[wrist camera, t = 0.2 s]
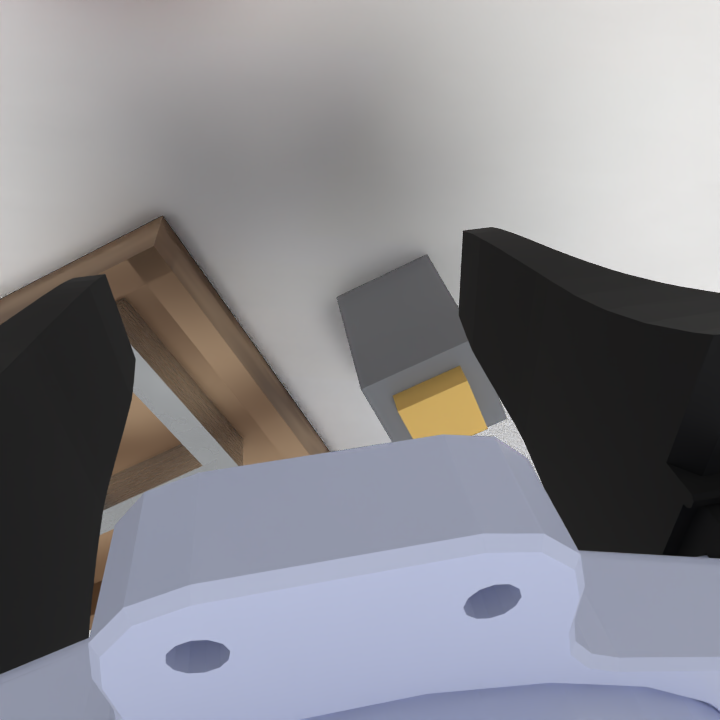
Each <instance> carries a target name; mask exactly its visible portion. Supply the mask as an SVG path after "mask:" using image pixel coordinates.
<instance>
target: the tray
mask: <svg viewBox="0 0 720 720" xmlns="http://www.w3.org/2000/svg"><path fill="white" fill-rule="evenodd" d="M101 274H106V277H107V280H108V282H109V285H110V288H111V291H112V294H113V296H114V299H115V302H116V301H118V300H120V299H122V298H124V297H125V299H126V300H127V301H128V302H129V303H130V305H131V306H132V307H133V308H134V309H135V311H136V312H137V313H138V314H139V315H140V317H141V318H142V319H143V320H144V321H145V322H146V324H147V325H148V326H149V327H150V328H151V330H152V331H153V332H154V333H155V334H156V336H157V337H158V338H159V339H160V340H161V342H162V343H163V344H164V345H165V346H166V348H167V349H168V350H169V351H170V352H171V354H172V355H173V356H174V357H175V358H176V359H177V361H178V362H179V363H180V364H181V365H182V367H183V368H184V369H185V370H186V371H187V373H188V374H189V375H190V376H191V377H192V379H193V380H194V381H195V382H196V383H197V385H198V386H199V387H200V388H201V389H202V390H203V392H204V393H205V394H206V395H207V396H208V398H209V399H210V400H211V401H212V402H213V404H214V405H215V406H216V407H217V408H218V410H219V411H220V412H221V413H222V414H223V416H224V417H225V418H226V419H227V420H228V421H229V423H230V424H231V425H232V426H233V427H234V429H235V430H236V431H237V432H238V433H239V435H240V436H241V437H242V438H243V466H244V465H250V464H257V463H263V462H269V461H276V460H282V459H289V458H295V457H301V456H308V455H314V454H321V453H327V452H330V451H329V450H328V449H327V447H326V446H325V444H324V443H323V441H322V440H321V439H320V437H319V436H318V434H317V433H316V432H315V430H314V429H313V427H312V426H311V425H310V423H309V422H308V420H307V419H306V418H305V416H304V415H303V413H302V412H301V410H300V409H299V408H298V406H297V405H296V403H295V402H294V401H293V399H292V398H291V396H290V395H289V394H288V392H287V391H286V389H285V388H284V386H283V385H282V384H281V382H280V381H279V379H278V378H277V377H276V375H275V374H274V372H273V371H272V370H271V368H270V367H269V365H268V364H267V362H266V361H265V360H264V358H263V357H262V355H261V354H260V353H259V351H258V350H257V348H256V347H255V346H254V344H253V343H252V341H251V340H250V338H249V337H248V336H247V334H246V333H245V331H244V330H243V329H242V327H241V326H240V324H239V323H238V322H237V320H236V319H235V317H234V316H233V315H232V313H231V312H230V310H229V309H228V307H227V306H226V305H225V303H224V302H223V300H222V299H221V298H220V296H219V295H218V293H217V292H216V291H215V289H214V288H213V286H212V285H211V283H210V282H209V281H208V279H207V278H206V276H205V275H204V274H203V272H202V271H201V269H200V268H199V267H198V265H197V264H196V262H195V261H194V259H193V258H192V257H191V255H190V254H189V252H188V251H187V250H186V248H185V247H184V245H183V244H182V243H181V241H180V240H179V238H178V237H177V235H176V234H175V233H174V231H173V230H172V228H171V227H170V226H169V224H168V223H167V221H166V220H165V219H164V217H163V216H161V217H159V218H157V219H155V220H153V221H151V222H149V223H148V224H146V225H144V226H142V227H140V228H138V229H136V230H134V231H132V232H130V233H128V234H126V235H124V236H122V237H120V238H118V239H116V240H114V241H112V242H111V243H109V244H107V245H105V246H103V247H101V248H99V249H97V250H95V251H93V252H91V253H89V254H87V255H85V256H83V257H81V258H79V259H77V260H76V261H74V262H72V263H70V264H68V265H66V266H64V267H62V268H60V269H58V270H56V271H54V272H52V273H50V274H48V275H46V276H44V277H42V278H40V279H39V280H37V281H35V282H33V283H31V284H29V285H27V286H25V287H23V288H21V289H19V290H17V291H15V292H13V293H11V294H9V295H7V296H5V297H4V298H2V299H0V325H1V324H2V323H4V322H5V321H7V320H8V319H9V318H11V317H12V316H14V315H15V314H17V313H18V312H20V311H21V310H23V309H24V308H26V307H27V306H28V305H30V304H31V303H33V302H34V301H36V300H37V299H39V298H40V297H42V296H43V295H45V294H46V293H48V292H49V291H51V290H52V289H54V288H55V287H57V286H59V285H60V284H62V283H64V282H66V281H68V280H70V279H72V278H77V277H85V276H93V275H101ZM180 444H182V443H181V442H180V441H179V440H178V439H177V438H176V437H175V436H174V435H173V434H172V433H171V432H170V431H169V430H168V428H167V427H166V426H165V425H164V424H163V423H162V422H161V421H160V420H159V419H158V418H157V417H156V416H155V415H154V414H153V413H152V412H151V411H150V409H149V408H148V407H147V406H146V405H145V404H144V403H143V402H142V401H141V400H140V399H139V398H138V397H137V396H136V395H135V394H134V393H133V394H132V401H131V405H130V409H129V413H128V417H127V420H126V424H125V428H124V432H123V435H122V439H121V443H120V446H119V450H118V454H117V457H116V461H115V464H114V468H113V472H112V475H115V474H117V473H119V472H121V471H123V470H125V469H128V468H130V467H132V466H134V465H136V464H139V463H141V462H143V461H145V460H147V459H149V458H152V457H154V456H156V455H158V454H160V453H163V452H165V451H167V450H169V449H171V448H174V447H176V446H178V445H180ZM112 475H111V476H112ZM113 531H114V529H112V530H110V531H108V532H106V533H103V534H101V535H100V537H99V544H98V551H97V559H96V568H95V577H94V586H93V594H92V604H91V616H90V628H89V630H91V628H92V624H93V619H94V615H95V610H96V606H97V602H98V597H99V593H100V588H101V584H102V579H103V575H104V571H105V566H106V562H107V557H108V553H109V549H110V544H111V540H112V535H113Z"/></svg>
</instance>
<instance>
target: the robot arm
mask: <svg viewBox="0 0 720 720" xmlns="http://www.w3.org/2000/svg"><path fill="white" fill-rule="evenodd" d="M459 318H460V321H461V323H462V326H463V329H464V331H465V334H466V337H467V339H468V342H469V344H470V347H471V349H472V351H473V353H474V355H475V357H476V358H477V360H478V362H479V364H480V365H481V367H482V369H483V371H484V372H485V374H486V376H487V378H488V379H489V381H490V383H491V384H492V386H493V388H494V389H495V391H496V393H497V394H498V396H499V398H500V400H501V401H502V403H503V405H504V406H505V408H506V410H507V411H508V413H509V415H510V417H511V418H512V420H513V422H514V423H515V425H516V427H517V429H518V431H519V433H520V435H521V437H522V438H523V440H524V442H525V445H526V447H527V449H528V452H529V454H530V456H531V459H532V461H533V463H534V465H535V468H536V470H537V472H538V475H539V477H540V479H541V482H542V484H543V485H542V484H541V482H540V480H539V478H538V476H537V474H536V473H535V471H534V469H533V467H532V465H531V464H530V462H529V460H528V458H526V457H525V456H523V455H522V454H520V453H519V452H517V451H516V450H514V449H513V448H511V447H510V446H508V445H506V444H505V443H503V442H502V441H500V440H499V439H497V438H496V437H489V436H467V435H445V434H442V435H436V436H429V437H423V438H417V439H410V440H404V441H397V442H391V443H385V444H378V445H372V446H365V447H359V448H353V449H346V450H340V451H333V452H327V453H321V454H314V455H308V456H301V457H295V458H289V459H282V460H276V461H269V462H263V463H257V464H250V465H244V466H237V467H231V468H225V469H218V470H212V471H205V472H199V473H196V474H193V475H191V476H188V477H185V478H182V479H180V480H177V481H174V482H171V483H168V484H166V485H163V486H160V487H157V488H155V489H152V490H149V491H146V492H144V493H143V494H142V496H141V497H140V498H139V499H138V500H137V501H136V502H135V503H134V505H133V506H132V507H131V508H130V509H129V510H128V511H127V512H126V513H125V515H124V516H123V517H122V518H121V519H120V520H119V521H118V522H117V523H116V525H115V526H114V531H113V535H112V540H111V544H110V549H109V553H108V557H107V562H106V566H105V571H104V575H103V579H102V584H101V588H100V593H99V597H98V602H97V606H96V610H95V615H94V619H93V624H92V628H91V633H90V637H89V628H90V616H91V604H92V594H93V586H94V577H95V568H96V559H97V551H98V544H99V537H100V530H101V522H102V515H103V509H104V504H105V499H106V495H107V490H108V486H109V483H110V479H111V475H112V472H113V468H114V464H115V461H116V457H117V454H118V450H119V446H120V443H121V439H122V435H123V432H124V428H125V424H126V420H127V417H128V413H129V409H130V405H131V401H132V394H133V386H134V375H135V362H136V358H135V356H134V353H133V350H132V347H131V344H130V341H129V339H128V336H127V333H126V330H125V327H124V325H123V322H122V319H121V316H120V313H119V311H118V308H117V305H116V302H115V299H114V296H113V294H112V291H111V288H110V285H109V282H108V280H107V277H106V274H101V275H93V276H85V277H77V278H72V279H70V280H68V281H66V282H64V283H62V284H60V285H59V286H57V287H55V288H54V289H52V290H51V291H49V292H48V293H46V294H45V295H43V296H42V297H40V298H39V299H37V300H36V301H34V302H33V303H31V304H30V305H28V306H27V307H26V308H24V309H23V310H21V311H20V312H18V313H17V314H15V315H14V316H12V317H11V318H9V319H8V320H7V321H5V322H4V323H2V324H1V325H0V720H720V293H716V292H710V291H704V290H698V289H692V288H686V287H680V286H675V285H670V284H665V283H660V282H656V281H652V280H648V279H644V278H640V277H636V276H632V275H628V274H624V273H621V272H617V271H614V270H611V269H608V268H605V267H602V266H599V265H596V264H593V263H589V262H586V261H584V260H581V259H578V258H575V257H573V256H570V255H567V254H565V253H562V252H559V251H557V250H554V249H552V248H549V247H547V246H544V245H542V244H539V243H537V242H534V241H532V240H529V239H527V238H524V237H522V236H519V235H516V234H514V233H511V232H508V231H505V230H502V229H498V228H493V227H489V228H481V229H473V230H465V231H463V243H462V261H461V280H460V298H459Z"/></svg>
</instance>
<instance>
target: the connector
mask: <svg viewBox="0 0 720 720" xmlns="http://www.w3.org/2000/svg"><path fill="white" fill-rule="evenodd" d="M337 300H338V304H339V308H340V312H341V316H342V319H343V323H344V327H345V331H346V334H347V338H348V342H349V346H350V350H351V353H352V357H353V361H354V365H355V368H356V372H357V376H358V380H359V384H360V387H361V390H362V392H363V394H364V395H365V397H366V399H367V400H368V402H369V404H370V405H371V407H372V409H373V410H374V412H375V414H376V415H377V417H378V419H379V421H380V422H381V424H382V426H383V427H384V429H385V431H386V432H387V434H388V436H389V437H390V439H391V441H392V442H397V441H404V440H410V439H417V438H423V437H429V436H436V435H442V434H445V435H467V436H472V435H475V434H477V433H479V432H482V431H484V430H486V429H488V428H487V427H489V426H491V425H493V424H496V423H498V422H500V421H503V420H505V419H507V417H506V415H505V412H504V409H503V407H502V404H501V402H500V399H499V396H498V394H497V393H496V391H495V389H494V388H493V386H492V384H491V383H490V381H489V379H488V378H487V376H486V374H485V372H484V371H483V369H482V367H481V365H480V364H479V362H478V360H477V358H476V357H475V355H474V353H473V351H472V349H471V347H470V344H469V342H468V339H467V337H466V334H465V331H464V329H463V326H462V323H461V321H460V318H459V308H458V306H457V305H456V303H455V301H454V299H453V298H452V296H451V294H450V293H449V291H448V289H447V288H446V286H445V284H444V282H443V281H442V279H441V277H440V276H439V274H438V272H437V271H436V269H435V267H434V265H433V264H432V262H431V260H430V259H429V257H428V255H425V256H422V257H420V258H418V259H416V260H414V261H412V262H410V263H408V264H406V265H403V266H401V267H399V268H397V269H395V270H393V271H391V272H389V273H387V274H384V275H382V276H380V277H378V278H376V279H374V280H372V281H370V282H368V283H366V284H363V285H361V286H359V287H357V288H355V289H353V290H351V291H349V292H347V293H344V294H342V295H340V296H338V297H337Z"/></svg>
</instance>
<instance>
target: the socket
mask: <svg viewBox="0 0 720 720" xmlns="http://www.w3.org/2000/svg"><path fill="white" fill-rule="evenodd" d="M116 305H117V308H118V311H119V313H120V316H121V319H122V322H123V325H124V327H125V330H126V333H127V336H128V339H129V341H130V344H131V347H132V350H133V353H134V356H135V358H136V362H135V375H134V386H133V393H134V394H135V395H136V396H137V397H138V398H139V399H140V400H141V401H142V402H143V403H144V404H145V405H146V406H147V407H148V408H149V409H150V411H151V412H152V413H153V414H154V415H155V416H156V417H157V418H158V419H159V420H160V421H161V422H162V423H163V424H164V425H165V426H166V427H167V428H168V430H169V431H170V432H171V433H172V434H173V435H174V436H175V437H176V438H177V439H178V440H179V441H180V442H181V443H182V444H180V445H178V446H176V447H174V448H171V449H169V450H167V451H165V452H163V453H160V454H158V455H156V456H154V457H152V458H149V459H147V460H145V461H143V462H141V463H139V464H136V465H134V466H132V467H130V468H128V469H125V470H123V471H121V472H119V473H117V474H115V475H112V476H111V479H110V483H109V486H108V490H107V495H106V499H105V504H104V509H103V515H102V522H101V530H100V535H101V534H103V533H106V532H108V531H110V530H112V529H114V526H115V525H116V523H117V522H118V521H119V520H120V519H121V518H122V517H123V516H124V515H125V513H126V512H127V511H128V510H129V509H130V508H131V507H132V506H133V505H134V503H135V502H136V501H137V500H138V499H139V498H140V497H141V496H142V494H143V493H144V492H146V491H149V490H152V489H155V488H157V487H160V486H163V485H166V484H168V483H171V482H174V481H177V480H180V479H182V478H185V477H188V476H191V475H193V474H196V473H199V472H205V471H212V470H218V469H225V468H231V467H237V466H243V438H242V437H241V436H240V435H239V433H238V432H237V431H236V430H235V429H234V427H233V426H232V425H231V424H230V423H229V421H228V420H227V419H226V418H225V417H224V416H223V414H222V413H221V412H220V411H219V410H218V408H217V407H216V406H215V405H214V404H213V402H212V401H211V400H210V399H209V398H208V396H207V395H206V394H205V393H204V392H203V390H202V389H201V388H200V387H199V386H198V385H197V383H196V382H195V381H194V380H193V379H192V377H191V376H190V375H189V374H188V373H187V371H186V370H185V369H184V368H183V367H182V365H181V364H180V363H179V362H178V361H177V359H176V358H175V357H174V356H173V355H172V354H171V352H170V351H169V350H168V349H167V348H166V346H165V345H164V344H163V343H162V342H161V340H160V339H159V338H158V337H157V336H156V334H155V333H154V332H153V331H152V330H151V328H150V327H149V326H148V325H147V324H146V322H145V321H144V320H143V319H142V318H141V317H140V315H139V314H138V313H137V312H136V311H135V309H134V308H133V307H132V306H131V305H130V303H129V302H128V301H127V300H126V299H125V297H124V298H122V299H120V300H118V301H116Z"/></svg>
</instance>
